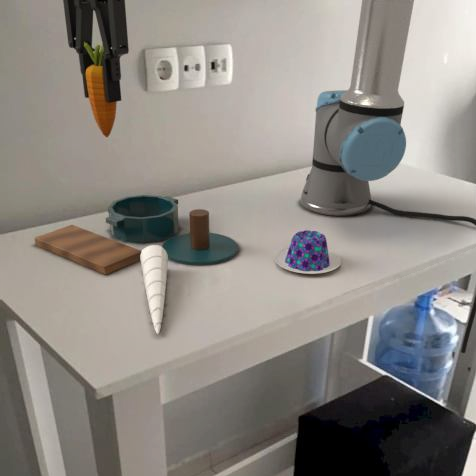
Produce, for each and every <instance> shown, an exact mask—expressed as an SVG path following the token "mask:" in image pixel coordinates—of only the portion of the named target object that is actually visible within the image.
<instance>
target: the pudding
mask: <svg viewBox="0 0 476 476" xmlns="http://www.w3.org/2000/svg"><path fill="white" fill-rule="evenodd" d="M274 262H275V263H276V264H277V265H278V266H280V267H281V268H282V269H285V270H287V271H290V272H293V273H298V274H299V273H300V274H309V275H314V274H315V275H316V274H324V273H328V272H331V271H334V270H336V269H338V268H339V267H340V266H341V265H342V259H341V257H340V256H339V255H338V254H337V253H336V252H334V251H331V250H329V248H328V243H327V238H326V235H325V234H324V233H321V232H319V231H317V230H307V229H306V230H303V231H302V230H299V231H297V232H296V233H295V234H293V236H292V238H291V240H290V244H289V247H287V248H284V249H282V250H279V251H278V252H277V253H276V254H275V255H274Z"/></svg>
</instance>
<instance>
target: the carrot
mask: <svg viewBox="0 0 476 476" xmlns="http://www.w3.org/2000/svg"><path fill="white" fill-rule="evenodd" d="M84 43H85V42H84ZM84 47H85V48H86V50H87V51H88V53H89V55H90V56H91V58H92V60H93V62H94V65H91V66H89V67H88V68H87V69H86V81H87V89H88V95H89V98H88V100H89V104H90V108H91V111H92V114H93V117H94V120H95V122H96V125H97V127H98V129H99V130H100V132H101V134H102V135H103V136H104V137H105V138H108V137H109V136H110V135H111V133H112V129H113V127H114V124H115V120H116V113H117V104H118V103H117V102H118V101H117V102H112V103H107V102H106V95H105V85H104V75H103V64H102V59H103V58H102V56H103V55H105V52H104V48H103V43H101V45H100V44H96V45H95V47H94V49H95V51H94V52H93V51H92V49H91V47H90V46H89V45H88V44H87V43H85V44H84ZM93 53H94V54H93Z"/></svg>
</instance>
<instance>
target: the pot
mask: <svg viewBox="0 0 476 476" xmlns="http://www.w3.org/2000/svg"><path fill="white" fill-rule="evenodd" d="M107 213H108V216H107V217H105V223H106V224H108V225H109V230H110V233H111V234H112V236H113V237H114V238H116V239H118V240H120V241H124V242H126V243H140V244H147V243H154V242H162V241H164V240H168V239H170V238H172V237H175V236H176V234H177V232H178V231H179V230H180V223H179V199H177V198H175V197H171V196H168V195H166V196H162V195H152V194H151V195H150V194H141V195H140V194H139V195H130V196H125V197H122V198H119V199H116V200H113V201H112V202H111V203H110V204H109V205H108V206H107Z"/></svg>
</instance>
